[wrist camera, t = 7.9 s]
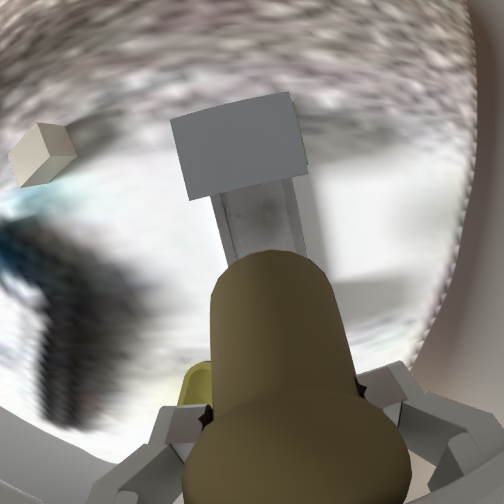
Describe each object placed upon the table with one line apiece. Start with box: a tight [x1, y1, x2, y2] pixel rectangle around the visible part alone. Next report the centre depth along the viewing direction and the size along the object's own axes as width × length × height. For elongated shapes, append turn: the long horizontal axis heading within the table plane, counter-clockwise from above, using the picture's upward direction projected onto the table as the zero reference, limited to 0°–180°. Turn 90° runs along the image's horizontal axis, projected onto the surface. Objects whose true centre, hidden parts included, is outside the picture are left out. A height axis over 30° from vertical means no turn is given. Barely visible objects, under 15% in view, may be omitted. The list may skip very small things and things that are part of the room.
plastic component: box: [177, 362, 212, 407], centre depth 31 cm, size 20×7×10 cm
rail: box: [210, 177, 307, 267], centre depth 26 cm, size 24×7×2 cm, turn 13°
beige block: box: [8, 122, 78, 188], centre depth 22 cm, size 4×5×5 cm
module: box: [170, 92, 308, 201], centre depth 20 cm, size 5×7×8 cm
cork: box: [181, 249, 412, 504], centre depth 9 cm, size 6×6×11 cm
